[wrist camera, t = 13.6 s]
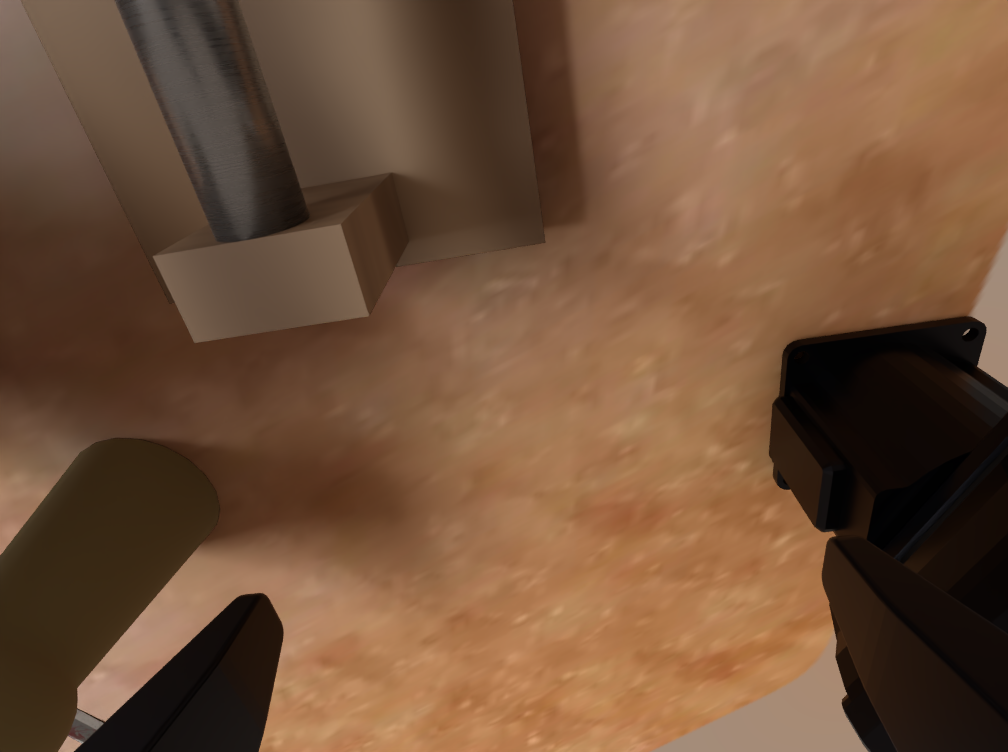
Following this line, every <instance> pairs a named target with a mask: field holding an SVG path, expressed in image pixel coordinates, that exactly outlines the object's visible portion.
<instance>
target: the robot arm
mask: <svg viewBox="0 0 1008 752" xmlns="http://www.w3.org/2000/svg"><path fill="white" fill-rule="evenodd" d="M968 329H970V330H969V332H968V333H967V334H966V335H964V336H963V334H964V332H965V331H967V330H968ZM985 335H986V326H985V324H984V323H982V322H980V321H978V320H977V319H975V318H973V317H959V318H952V319H945V320H937V321H930V322H923V323H916V324H909V325H902V326H895V327H888V328H880V329H873V330H866V331H859V332H852V333H845V334H838V335H831V336H823V337H816V338H809V339H802V340H797V341H793V342H791V343H790V344H789V345H787V347H786V348H785V349H784V351H783V355H782V367H781V380H780V392H779V397H777V398H776V400H775V401H774V403H773V406H772V419H771V433H770V446H769V456H770V458H771V459H772V461H773V462H774V467H773V478H774V480H775V482H776V483H777V485H778V486H779V487H780V488H782V489H786V490H790V489H791V491H792V492H793V494H794V495H795V497H796V499H797V500H798V502H799V503H800V505H801V506H802V508H803V510H804V511H805V513H806V514H807V516H808V518H809V519H810V521H811V522H812V524H813V525H814V527H816V528H817V529H818V530H820V531H821V532H830V531H833V532H834V533H835V535H836V537H831V538H830V539H829V540H828V541H827V545H826V550H825V556H824V563H823V569H822V582H823V587H824V590H825V592H826V595H827V597H828V600H829V602H830V603H829V606H830V610H831V615H832V620H833V625H834V629H835V634H836V639H837V645H836V660H837V664H838V667H839V671H840V674H841V677H842V680H843V683H844V687H845V690H846V692H847V695H846V696H845V697H844V698H843V699H842V706H843V709H844V712H845V714H846V717H847V718H848V720H849V722H850V723H851V725H852V727H853V728H854V730H855V732H856V733H857V735H858V737H859V738H860V740H861V742H862V744H863V745H864V746H865V748H866V749H867V750H868V751H869V752H1008V387H1006V386H1005V385H1003V384H1002V383H1000V382H999V381H997V380H996V379H994V378H993V377H991V376H990V375H989V374H987V373H986V372H984V371H982V370H981V369H980V368H978V367H977V365H978V361H979V357H980V353H981V350H982V346H983V342H984V339H985ZM802 351H805V352H804V355H803V356H802V357H801V358H798V359H795V356H796V355H797V354H798V353H799V352H802ZM283 634H284V632H283V625H282V622H281V620H280V619H279V617H278V615H277V613H276V611H275V609H274V607H273V605H272V604H271V602H270V600H269V598H268V597H267V596H266V595H265V594H263V593H255V594H245V595H241V596H239V597H237V598H236V599H235V600H233V601H232V602H231V603H230V604H229V605H228V606H227V607H226V608H225V609H224V610H223V611H222V612H221V613H220V614H219V615H218V616H217V617H216V618H214V619H213V620H212V621H211V622H210V623H209V624H208V625H207V626H206V627H205V628H204V629H203V630H202V631H201V632H200V633H199V634H198V635H197V636H195V637H194V638H193V639H192V640H191V641H190V642H189V643H188V644H187V645H186V646H185V647H184V648H183V649H182V650H181V651H180V652H179V653H178V654H176V655H175V656H174V657H173V658H172V659H171V660H170V661H169V662H168V663H167V664H166V665H165V666H164V667H163V668H162V669H161V670H160V671H159V672H157V673H156V674H155V675H154V676H153V677H152V678H151V679H150V680H149V681H148V682H147V683H146V684H145V685H144V686H143V687H142V688H141V689H140V690H138V691H137V692H136V693H135V694H134V695H133V696H132V697H131V698H130V699H129V700H128V701H127V702H126V703H125V704H124V705H123V706H122V707H121V708H119V709H118V710H117V711H116V712H115V713H114V714H113V715H112V716H111V717H110V718H109V719H108V720H107V721H106V722H105V723H104V724H103V725H102V726H100V727H99V728H98V729H97V730H96V731H95V732H94V733H93V734H92V735H91V736H90V737H89V738H88V739H87V740H86V741H85V742H84V743H83V744H81V745H80V746H79V747H78V748H77V749H76V750H75V751H74V752H259V748H260V745H261V741H262V737H263V734H264V730H265V725H266V721H267V716H268V711H269V706H270V702H271V697H272V692H273V687H274V682H275V677H276V672H277V667H278V662H279V657H280V652H281V647H282V642H283Z"/></svg>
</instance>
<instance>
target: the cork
mask: <svg viewBox="0 0 1008 752" xmlns="http://www.w3.org/2000/svg"><path fill="white" fill-rule="evenodd" d="M219 512H220V506H219V502H218V498H217V494H216V491H215V489H214V488H213V486H212V485H211V483H210V482H209V480H208V479H207V477H206V476H205V474H204V473H203V472H201V471H200V470H199V469H198V468H197V467H196V466H195V465H194V464H192V463H191V462H190V461H189V460H188V459H186V458H185V457H183V456H181V455H179V454H177V453H175V452H174V451H172V450H170V449H168V448H166V447H164V446H161V445H157V444H154V443H151V442H147V441H144V440H140V439H123V438H114V439H110V440H105V441H101V442H96V443H94V444H93V445H91V446H90V447H88V448H87V449H85V450H84V451H82V452H80V454H79V455H78V456H77V457H76V459H75V460H74V461H73V463H72V464H71V465H70V466H69V468H68V469H67V470H66V472H65V473H64V474H63V475H62V477H61V478H60V479H59V481H58V482H57V483H56V485H55V486H54V487H53V488H52V490H51V491H50V492H49V494H48V495H47V496H46V497H45V499H44V500H43V501H42V503H41V504H40V505H39V506H38V508H37V509H36V510H35V512H34V513H33V514H32V515H31V517H30V518H29V519H28V521H27V522H26V523H25V524H24V526H23V527H22V528H21V530H20V531H19V532H18V534H17V535H16V536H15V537H14V539H13V540H12V541H11V543H10V544H9V545H8V546H7V548H6V549H5V550H4V552H3V553H2V554H1V555H0V752H58V750H59V749H60V747H61V746H62V744H63V743H64V741H65V739H66V738H67V736H68V735H69V732H70V730H71V727H72V724H73V721H74V719H75V716H76V713H77V699H78V698H77V688H78V687H79V685H80V684H81V683H82V682H83V681H84V680H85V678H86V677H87V676H88V675H89V674H90V673H91V671H92V670H93V669H94V668H95V667H96V666H97V664H98V663H99V662H100V661H101V660H102V659H103V657H104V656H105V655H106V654H107V653H108V652H109V650H110V649H111V648H112V647H113V646H114V645H115V643H116V642H117V641H118V640H119V639H120V638H121V636H122V635H123V634H124V633H125V632H126V631H127V629H128V628H129V627H130V626H131V625H132V624H133V622H134V621H135V620H136V619H137V618H138V617H139V615H140V614H141V613H142V612H143V611H144V610H145V608H146V607H147V606H148V605H149V604H150V603H151V601H152V600H153V599H154V598H155V597H156V596H157V594H158V593H159V592H160V591H161V590H162V589H163V587H164V586H165V585H166V584H167V583H168V582H169V580H170V579H171V578H172V577H173V576H174V575H175V573H176V572H177V571H178V570H179V569H180V568H181V566H182V565H183V564H184V563H185V562H186V561H187V559H188V558H189V557H190V556H191V555H192V554H193V552H194V551H195V550H196V549H197V548H198V546H199V545H200V544H201V543H202V542H203V541H204V539H205V538H206V537H207V536H208V535H209V533H210V532H211V531H212V530H213V528H214V527H215V526H216V525H217V522H218V517H219Z"/></svg>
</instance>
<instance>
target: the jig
mask: <svg viewBox="0 0 1008 752" xmlns="http://www.w3.org/2000/svg"><path fill="white" fill-rule="evenodd" d="M238 1H239V4H240V7H241V10H242V13H243V16H244V19H245V22H246V25H247V28H248V31H249V34H250V37H251V40H252V43H253V46H254V49H255V52H256V55H257V58H258V61H259V64H260V67H261V70H262V73H263V76H264V79H265V82H266V85H267V88H268V91H269V94H270V97H271V100H272V103H273V106H274V109H275V112H276V115H277V118H278V121H279V124H280V127H281V130H282V133H283V136H284V139H285V142H286V145H287V148H288V151H289V154H290V157H291V160H292V163H293V166H294V169H295V172H296V175H297V178H298V181H299V184H300V187H301V190H302V193H303V196H304V199H305V202H306V205H307V208H308V211H309V214H310V218H309V219H308V220H307V221H305V222H303V223H301V224H299V225H297V226H295V227H292V228H290V229H287V230H284V231H281V232H278V233H275V234H271V235H268V236H264V237H260V238H255V239H250V240H245V241H238V242H226V243H224V242H217V241H216V240H215V237H214V235H213V233H212V230H211V228H210V226H209V223H208V221H207V218H206V216H205V214H204V211H203V209H202V207H201V204H200V202H199V200H198V197H197V195H196V192H195V190H194V188H193V185H192V183H191V181H190V178H189V176H188V174H187V171H186V169H185V167H184V164H183V162H182V159H181V157H180V155H179V152H178V150H177V148H176V145H175V143H174V141H173V138H172V136H171V133H170V131H169V129H168V126H167V124H166V122H165V119H164V117H163V115H162V112H161V110H160V107H159V105H158V103H157V100H156V98H155V96H154V93H153V91H152V89H151V86H150V84H149V81H148V79H147V77H146V74H145V72H144V70H143V67H142V65H141V63H140V60H139V58H138V56H137V53H136V51H135V48H134V46H133V44H132V41H131V39H130V37H129V34H128V32H127V30H126V27H125V25H124V22H123V20H122V18H121V15H120V13H119V11H118V8H117V6H116V4H115V1H114V0H21V2H22V4H23V6H24V8H25V10H26V12H27V14H28V16H29V18H30V20H31V22H32V24H33V26H34V28H35V31H36V33H37V35H38V37H39V39H40V41H41V43H42V45H43V47H44V49H45V51H46V53H47V55H48V57H49V59H50V61H51V63H52V65H53V67H54V69H55V71H56V73H57V75H58V77H59V79H60V81H61V83H62V86H63V88H64V90H65V92H66V94H67V96H68V98H69V100H70V102H71V104H72V106H73V108H74V110H75V112H76V114H77V116H78V118H79V120H80V122H81V124H82V126H83V128H84V130H85V132H86V134H87V136H88V138H89V141H90V143H91V145H92V147H93V149H94V151H95V153H96V155H97V157H98V159H99V161H100V163H101V165H102V167H103V169H104V171H105V173H106V175H107V177H108V179H109V181H110V183H111V185H112V187H113V189H114V191H115V193H116V196H117V198H118V200H119V202H120V204H121V206H122V208H123V210H124V212H125V214H126V216H127V218H128V220H129V222H130V224H131V226H132V228H133V230H134V232H135V234H136V236H137V238H138V240H139V242H140V244H141V246H142V248H143V251H144V253H145V255H146V257H147V259H148V261H149V263H150V265H151V267H152V269H153V271H154V273H155V275H156V277H157V279H158V281H159V283H160V285H161V287H162V289H163V291H164V293H165V295H166V297H167V299H168V301H169V303H175V304H176V306H177V308H178V310H179V312H180V314H181V316H182V318H183V320H184V322H185V324H186V326H187V328H188V330H189V333H190V335H191V337H192V339H193V341H194V343H199V342H205V341H212V340H218V339H224V338H231V337H237V336H244V335H250V334H257V333H263V332H270V331H276V330H283V329H289V328H296V327H302V326H309V325H315V324H322V323H328V322H335V321H341V320H348V319H354V318H360V317H367V316H369V315H370V314H371V312H372V310H373V308H374V306H375V304H376V302H377V301H378V299H379V297H380V295H381V293H382V291H383V289H384V287H385V286H386V284H387V282H388V280H389V278H390V276H391V274H392V273H393V271H394V269H395V267H399V266H405V265H411V264H417V263H424V262H430V261H436V260H442V259H448V258H454V257H461V256H467V255H473V254H479V253H485V252H491V251H498V250H504V249H510V248H516V247H522V246H528V245H535V244H541V243H545V236H544V229H543V221H542V214H541V207H540V199H539V192H538V184H537V177H536V170H535V162H534V155H533V148H532V140H531V133H530V125H529V118H528V111H527V103H526V96H525V88H524V81H523V74H522V66H521V59H520V52H519V44H518V37H517V29H516V22H515V15H514V7H513V0H238Z"/></svg>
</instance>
